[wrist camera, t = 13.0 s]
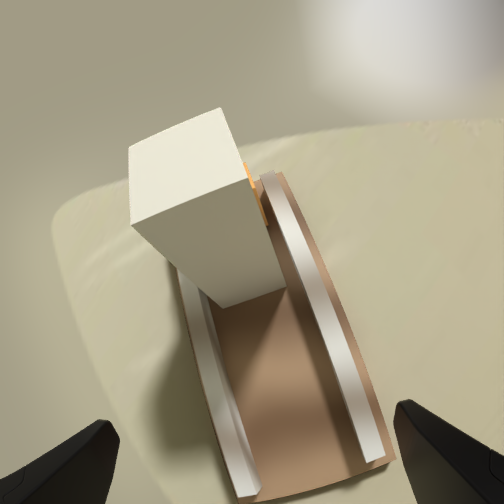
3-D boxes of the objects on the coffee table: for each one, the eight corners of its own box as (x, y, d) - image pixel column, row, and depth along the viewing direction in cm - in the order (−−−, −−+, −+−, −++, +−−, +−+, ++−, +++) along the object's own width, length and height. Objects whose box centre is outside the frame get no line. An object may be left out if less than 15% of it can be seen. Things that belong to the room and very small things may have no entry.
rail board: (392, 455, 13) (403, 465, 11) (243, 499, 14) (231, 514, 11) (283, 180, 22) (278, 156, 20) (172, 223, 23) (156, 204, 21)
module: (286, 286, 18) (247, 177, 9) (222, 308, 18) (131, 225, 9) (266, 230, 20) (220, 107, 11) (208, 252, 20) (128, 147, 11)
